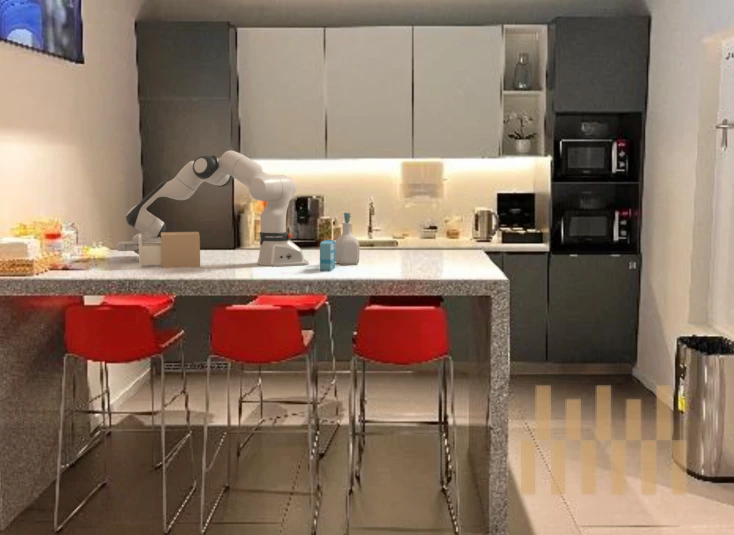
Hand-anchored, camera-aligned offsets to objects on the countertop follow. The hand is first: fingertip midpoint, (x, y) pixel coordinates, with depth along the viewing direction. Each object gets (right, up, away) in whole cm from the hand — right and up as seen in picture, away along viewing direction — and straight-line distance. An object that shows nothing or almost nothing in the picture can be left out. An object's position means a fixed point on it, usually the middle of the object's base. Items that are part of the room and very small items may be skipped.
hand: (140, 248), depth 356 cm
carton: (+18, -8, -3) cm, 20 cm away
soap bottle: (+90, -7, +7) cm, 91 cm away
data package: (+82, -10, -11) cm, 84 cm away
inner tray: (+9, -7, -3) cm, 11 cm away
